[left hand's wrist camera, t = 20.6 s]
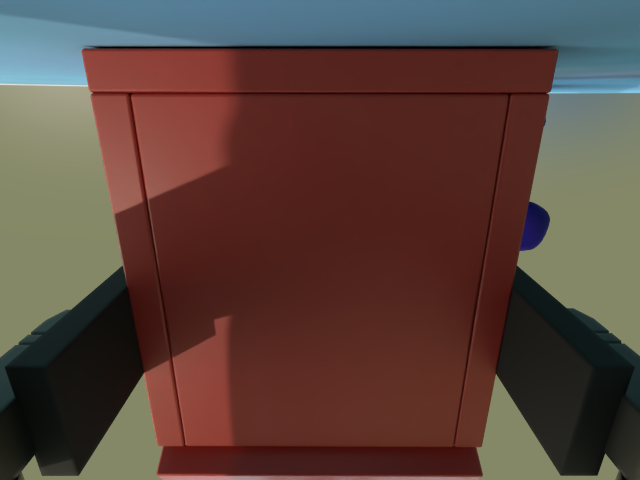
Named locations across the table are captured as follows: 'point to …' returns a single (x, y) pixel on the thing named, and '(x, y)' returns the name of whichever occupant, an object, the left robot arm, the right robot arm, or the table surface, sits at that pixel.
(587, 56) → the table surface
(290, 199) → the chest
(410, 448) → the lid
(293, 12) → the table surface
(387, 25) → the table surface
